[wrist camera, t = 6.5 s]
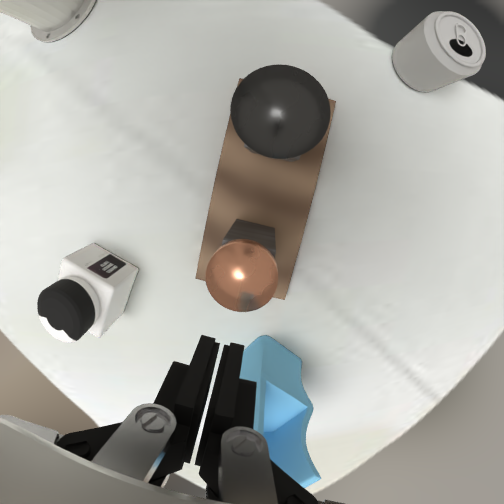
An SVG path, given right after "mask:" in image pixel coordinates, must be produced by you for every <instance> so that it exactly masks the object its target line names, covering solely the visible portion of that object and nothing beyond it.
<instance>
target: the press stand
mask: <svg viewBox="0 0 504 504" xmlns="http://www.w3.org/2000/svg"><path fill="white" fill-rule="evenodd" d="M242 80H243V79H241V78H239V82H238V85H239V84H240V83H241V82H242ZM237 87H238V86H237ZM328 100H329V103H330V110H331V115H330V123H329V126H328V129H327V131H326V133H325V135H324V137H323V138H322V140H321V141H320V142H319V143H318V144H317V145H316V146H315V147H314V148H313V149H311V150H310V151H308V152H306V153H304V154H302V155H300V156H297V157H294V158H290V159H272V158H268V157H264V156H262V155H260V154H258V153H256V152H254V151H253V150H252V149H250V148H249V147H248V146H247V145H246V144H245V143H244V142H243V141H242V140H241V139H240V137H239V136H238V135H237V133H236V131H235V129H234V126H233V124H232V120H231V114H230V118H229V122H228V126H227V130H226V134H225V139H224V143H223V147H222V152H221V156H220V160H219V165H218V169H217V174H216V178H215V183H214V187H213V192H212V197H211V202H210V206H209V211H208V216H207V221H206V226H205V231H204V236H203V241H202V246H201V252H200V257H199V262H198V268H197V273H196V279H199V280H203V281H206V269H207V265H208V263H209V261H210V259H211V258H212V256H213V255H214V253H215V252H216V251H217V249H219V248H220V247H221V246H222V245H223V244H225V243H227V242H229V241H232V240H236V239H248V240H253V241H256V242H258V243H260V244H262V245H263V246H265V247H266V248H267V249H268V250H269V251H270V252H271V254H272V255H273V257H274V259H275V261H276V264H277V269H278V285H277V289H276V291H275V293H274V295H273V297H274V298H279V299H283V300H285V297H286V293H287V290H288V286H289V283H290V280H291V276H292V273H293V269H294V265H295V262H296V258H297V255H298V251H299V248H300V244H301V240H302V237H303V233H304V229H305V225H306V222H307V218H308V214H309V210H310V206H311V203H312V199H313V195H314V191H315V187H316V183H317V179H318V175H319V171H320V167H321V163H322V159H323V155H324V151H325V146H326V142H327V138H328V134H329V129H330V125H331V121H332V116H333V112H334V107H335V103H336V101H334V100H330V99H328Z"/></svg>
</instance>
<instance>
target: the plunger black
mask: <svg viewBox="0 0 504 504" xmlns="http://www.w3.org/2000/svg"><path fill="white" fill-rule="evenodd" d="M330 115H331V110H330V103H329V100H328V97H327V94H326V92H325V90H324V89H323V87H322V86H321V84H320V83H319V82H318V81H317V80H316V79H315V78H314V77H313V76H311V75H310V74H309V73H307V72H305V71H304V70H301V69H299V68H296V67H293V66H288V65H270V66H266V67H263V68H260V69H258V70H255V71H254V72H252V73H250V74H249V75H248V76H247V77H245V78H244V79H243V80H242V82H241V83H240V84H239V85H238V87H237V88H236V90H235V92H234V95H233V98H232V102H231V120H232V124H233V126H234V129H235V131H236V133H237V135H238V136H239V137H240V139H241V140H242V141H243V142H244V143H245V144H246V145H247V146H248V147H249V148H250V149H252V150H253V151H254V152H256V153H258V154H260V155H262V156H264V157H268V158H272V159H290V158H294V157H297V156H300V155H302V154H304V153H306V152H308V151H310V150H311V149H313V148H314V147H315V146H316V145H317V144H318V143H319V142H320V141H321V140H322V138H323V137H324V135H325V133H326V131H327V129H328V126H329V123H330Z"/></svg>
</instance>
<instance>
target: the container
mask: <svg viewBox="0 0 504 504" xmlns="http://www.w3.org/2000/svg"><path fill="white" fill-rule="evenodd" d="M137 272H138V268H137V267H135V266H133V265H132V264H130V263H128V262H126V261H124V260H123V259H121V258H119V257H117V256H115V255H114V254H112V253H110V252H108V251H107V250H105V249H103V248H101V247H100V246H98V245H96V244H94V243H92V244H90V245H88V246H86V247H84V248H82V249H80V250H78V251H76V252H74V253H72V254H70V255H68V256H66V257H64V258H63V259H62V262H61V266H60V270H59V275H58V280H57V282H55V283H54V284H52V285H51V286H49V287H47V288H46V289H44V290H43V291H42V292H41V293H40V295H39V298H38V314H39V317H40V320H41V322H42V324H43V326H44V327H45V329H46V330H47V331H48V332H49V333H50V334H51V335H52V336H53V337H55V338H56V339H58V340H60V341H63V342H68V343H72V342H75V341H77V340H79V339H80V338H81V337H82V336H83V335H84V334H85V333H86V332H87V331H88V332H89V333H91V334H92V335H94V336H96V337H97V338H100V337H101V336H102V335H103V334H104V333H105V332H106V331H107V330H108V329H109V328H110V327H111V325H112V324H113V323H114V322H115V321H116V320H117V319H118V318H119V317H120V316H121V315H122V314H123V312H124V309H125V306H126V303H127V300H128V297H129V295H130V292H131V289H132V286H133V283H134V281H135V278H136V275H137Z"/></svg>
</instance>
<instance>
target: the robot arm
mask: <svg viewBox="0 0 504 504" xmlns="http://www.w3.org/2000/svg"><path fill="white" fill-rule="evenodd" d="M95 1H96V0H0V12H1V13H3V14H6V15H8V16H11V17H13V18H15V19H18V20H20V21H22V22H24V23H27V24H29V25H31V31H32V34H33V36H34V37H35V38H36V39H38V40H40V41H42V42H53V41H56V40H59V39H61V38H63V37H65V36H66V35H68V34H69V33H71V32H72V31H73V30H74V29H75V28H77V27H78V26H79V25H80V24H81V23H82V21H83V20H84V19H85V18H86V17H87V15H88V14H89V12H90V11H91V9H92V7H93V5H94V3H95ZM219 345H220V343H216V342H215V338H212V337H208V336H204V335H201V338H200V340H199V343H198V345H197V348H196V350H195V353H194V355H193V358H192V361H191V363H190V365H186V364H183V363H179V362H176V361H174V362H173V363H172V365H171V367H170V369H169V371H168V374H167V376H166V378H165V380H164V382H163V384H162V386H161V388H160V391H159V393H158V395H157V397H156V399H155V401H154V403H153V404H150V403H148V404H142V405H140V406H137V407H136V408H135V409H133V410H132V412H131V413H130V414H129V415H128V417H127V418H126V419H125V420H124V421H123V422H121V423H117V424H112V425H108V426H103V427H99V428H94V429H89V430H84V431H79V432H73V433H69V434H66V435H59V434H58V431H56V430H52V429H49V428H46V427H43V426H39V425H36V424H33V423H30V422H27V421H25V420H21V419H19V418H16V417H13V416H10V415H1V416H0V504H344V503H339V502H334V501H330V500H324V501H323V502H322V501H317V500H316V498H315V497H314V496H313V495H312V494H311V493H309V492H308V491H307V490H306V489H304V488H303V487H302V486H301V485H300V484H298V483H297V482H296V481H295V480H294V479H292V478H291V477H290V476H289V475H288V474H287V473H285V472H284V471H283V470H282V469H281V468H280V467H279V466H278V465H276V464H275V463H274V462H273V461H272V460H271V459H270V455H269V450H268V444H267V442H266V439H265V438H264V437H263V436H262V434H260V433H259V432H257V431H256V430H254V429H253V428H254V415H255V402H256V388H257V382H255V381H250V380H246V379H241V378H240V372H241V365H242V358H243V352H244V345H240V344H236V343H230V346H228V345H224V348H223V352H222V356H221V359H220V363H219V367H218V371H217V375H216V379H215V383H214V387H213V391H212V395H211V399H210V403H209V407H208V411H207V415H206V419H205V423H204V427H203V431H202V436H201V440H200V444H199V448H198V452H197V457H196V461H195V465H198V466H200V471H199V475H200V477H201V478H202V479H203V480H204V481H205V482H206V483H207V486H206V499H204V498H200V497H195V496H191V495H187V494H183V493H179V492H176V491H172V490H168V489H165V488H164V486H165V484H166V482H167V480H168V478H169V475H170V474H171V473H174V472H177V471H179V470H181V469H182V467H183V464H184V462H186V463H190V461H191V457H192V453H193V449H194V446H195V442H196V438H197V434H198V431H199V427H200V423H201V419H202V416H203V412H204V408H205V404H206V401H207V397H208V393H209V388H210V384H211V380H212V375H213V371H214V367H215V362H216V358H217V354H218V350H219Z"/></svg>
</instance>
